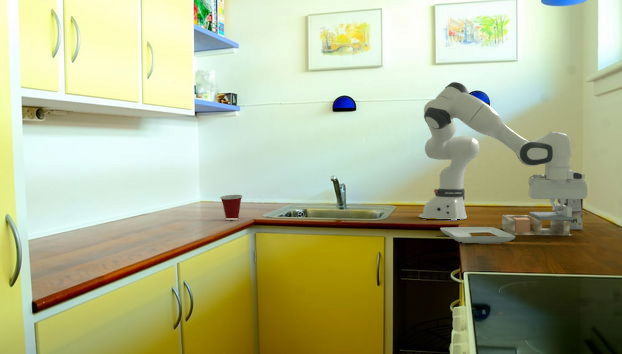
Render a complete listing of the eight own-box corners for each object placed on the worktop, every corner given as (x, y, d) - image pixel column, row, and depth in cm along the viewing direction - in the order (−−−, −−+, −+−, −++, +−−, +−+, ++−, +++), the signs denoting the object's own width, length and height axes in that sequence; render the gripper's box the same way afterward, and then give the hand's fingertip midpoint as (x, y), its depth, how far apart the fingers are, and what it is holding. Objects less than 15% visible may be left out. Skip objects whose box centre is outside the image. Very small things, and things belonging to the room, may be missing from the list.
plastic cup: (216, 220, 235) (215, 196, 234) (229, 217, 244) (229, 194, 244) (234, 222, 230) (233, 197, 229) (247, 219, 239) (246, 195, 238)
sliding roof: (540, 219, 179) (541, 207, 179) (529, 214, 193) (529, 203, 193) (572, 220, 177) (572, 207, 177) (558, 214, 191) (559, 203, 191)
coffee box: (583, 229, 194) (584, 190, 193) (567, 229, 195) (567, 190, 194) (571, 226, 204) (572, 188, 203) (556, 226, 204) (556, 188, 203)
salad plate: (492, 234, 189) (492, 225, 189) (516, 245, 168) (517, 235, 168) (439, 235, 189) (438, 226, 188) (456, 246, 167) (456, 236, 167)
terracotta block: (516, 232, 185) (516, 219, 185) (512, 230, 190) (512, 217, 189) (529, 232, 184) (530, 219, 184) (526, 230, 189) (526, 217, 189)
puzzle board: (510, 237, 181) (510, 220, 181) (501, 230, 195) (501, 215, 195) (572, 237, 178) (572, 220, 177) (558, 231, 192) (558, 215, 191)
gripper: (531, 175, 182) (530, 211, 183) (589, 174, 179) (588, 211, 180) (526, 174, 188) (526, 209, 189) (582, 173, 185) (582, 209, 186)
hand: (557, 210), depth 184 cm, fingers closed
